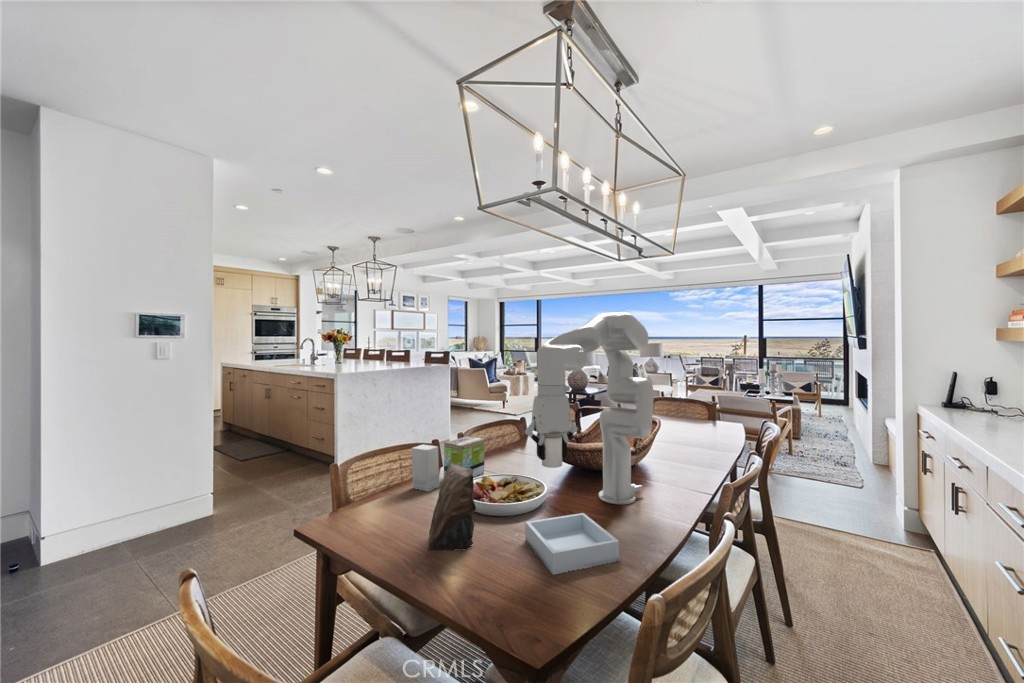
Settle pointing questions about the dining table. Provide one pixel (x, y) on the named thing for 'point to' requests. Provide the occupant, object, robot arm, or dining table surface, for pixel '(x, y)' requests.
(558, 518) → the tote
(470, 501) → the owl
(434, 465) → the skincare box
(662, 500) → the dining table surface
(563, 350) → the robot arm
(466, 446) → the tea box
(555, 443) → the canister
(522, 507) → the bowl
